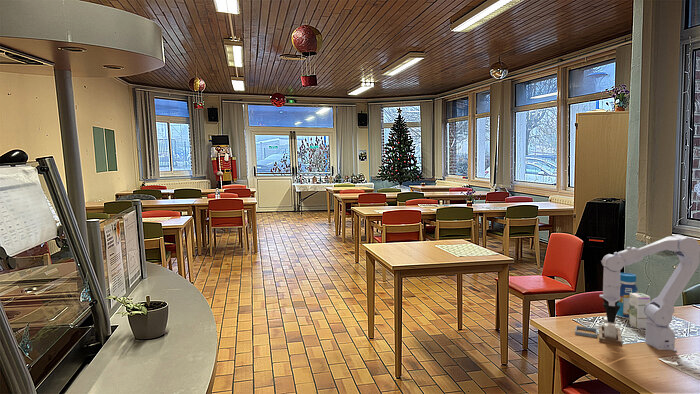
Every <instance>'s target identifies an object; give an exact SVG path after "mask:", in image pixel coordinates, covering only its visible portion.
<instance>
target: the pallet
mask: <svg viewBox="0 0 700 394" xmlns="http://www.w3.org/2000/svg"><path fill="white" fill-rule="evenodd" d="M598 341H599V342H600V343H604V344H609V345H617V346H622V345H623V341H622V334H621V328H620V327H617V335H616V340H615V339H609V338H604V325H601V324H598Z"/></svg>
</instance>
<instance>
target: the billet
mask: <svg viewBox="0 0 700 394" xmlns="http://www.w3.org/2000/svg"><path fill="white" fill-rule="evenodd" d="M605 323H609V324H616V325H617V320H616V319H615V322H614V323H612V322H608V320H607V316H604V317H603V326H605Z"/></svg>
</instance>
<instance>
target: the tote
mask: <svg viewBox="0 0 700 394" xmlns="http://www.w3.org/2000/svg"><path fill="white" fill-rule="evenodd" d="M578 330H580V331H578ZM582 330H583V331H589V332H583V331H582ZM590 332H593V333H590ZM594 332H595V333H594ZM574 333H575V334H574V335H576V336H583V337H589V338H594V339H595V338H596V339H597V338H598V328H595V327H587V326H581V325H575V331H574Z"/></svg>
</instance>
